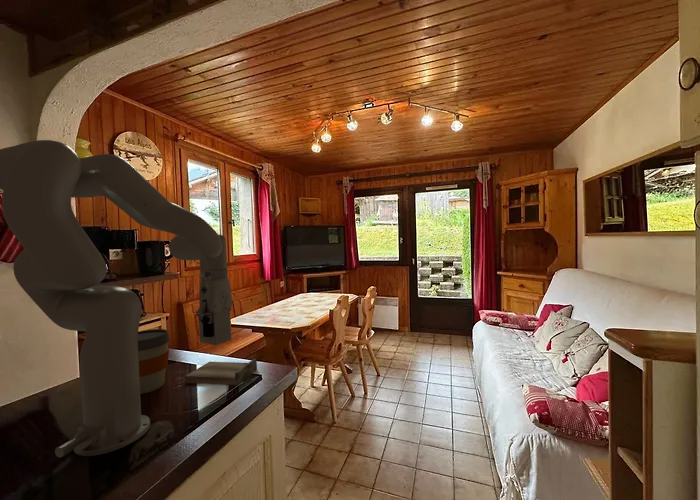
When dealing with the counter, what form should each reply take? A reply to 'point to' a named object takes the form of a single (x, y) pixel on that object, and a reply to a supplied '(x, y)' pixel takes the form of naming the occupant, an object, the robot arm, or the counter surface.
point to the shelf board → (222, 373)
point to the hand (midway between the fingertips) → (217, 332)
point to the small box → (218, 328)
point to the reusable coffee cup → (152, 358)
